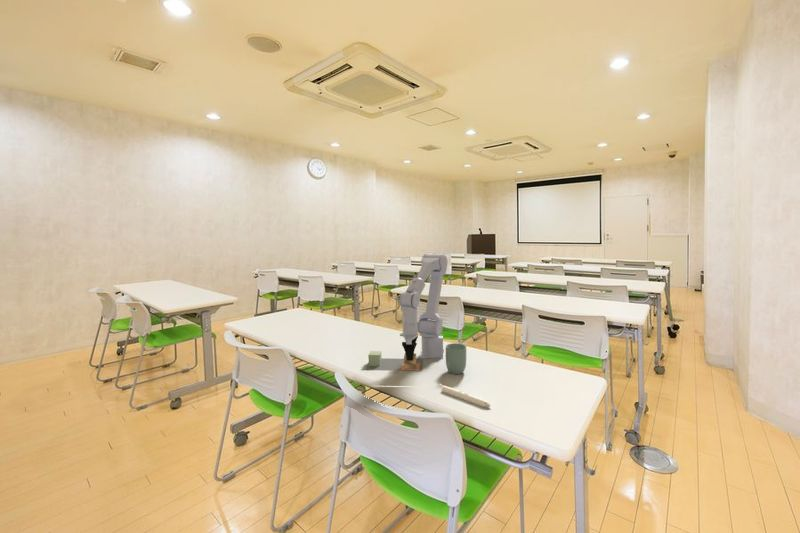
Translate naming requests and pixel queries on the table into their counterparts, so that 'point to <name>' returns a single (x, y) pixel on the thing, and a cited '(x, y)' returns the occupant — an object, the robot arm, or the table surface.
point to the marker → (465, 396)
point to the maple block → (410, 362)
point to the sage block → (374, 358)
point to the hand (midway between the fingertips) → (410, 356)
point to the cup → (456, 358)
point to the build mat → (395, 365)
